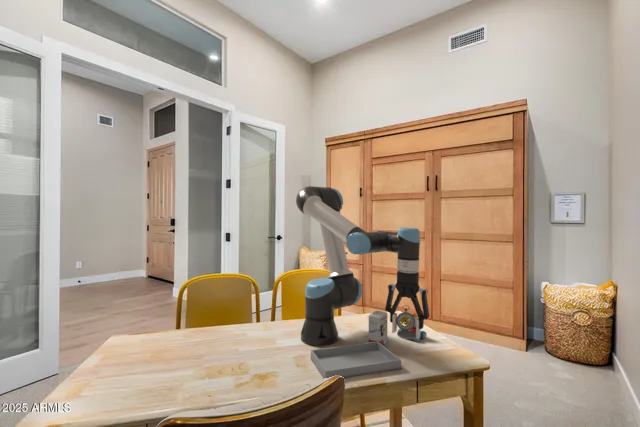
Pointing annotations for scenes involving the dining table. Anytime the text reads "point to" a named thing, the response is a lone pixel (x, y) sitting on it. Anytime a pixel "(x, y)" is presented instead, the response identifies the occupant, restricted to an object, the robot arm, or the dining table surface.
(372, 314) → the ink box
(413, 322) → the pocket watch
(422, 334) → the toy car
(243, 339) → the dining table surface
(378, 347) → the tray
